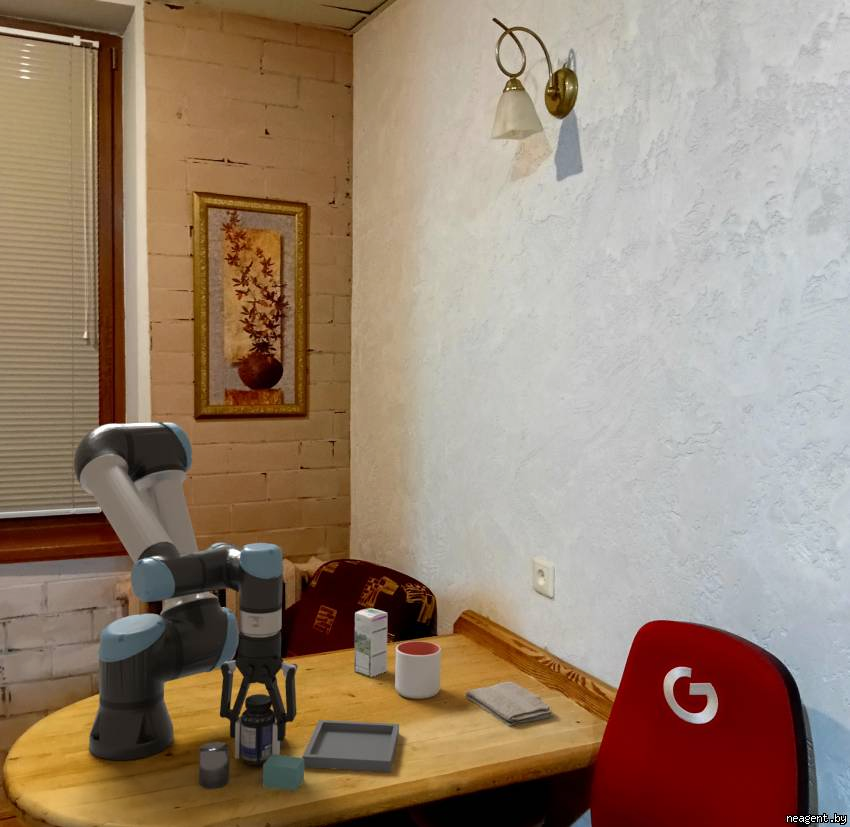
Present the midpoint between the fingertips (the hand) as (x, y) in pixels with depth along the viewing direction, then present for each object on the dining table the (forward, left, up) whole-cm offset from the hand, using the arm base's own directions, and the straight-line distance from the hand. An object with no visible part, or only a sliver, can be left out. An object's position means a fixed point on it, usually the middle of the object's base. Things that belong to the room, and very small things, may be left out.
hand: (257, 755), depth 156 cm
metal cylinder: (-6, -7, -2) cm, 9 cm away
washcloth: (+46, +32, -2) cm, 56 cm away
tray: (+16, +8, -2) cm, 18 cm away
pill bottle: (0, 0, -1) cm, 1 cm away
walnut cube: (0, +9, -2) cm, 9 cm away
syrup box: (+14, +49, -2) cm, 51 cm away
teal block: (+6, -6, -2) cm, 9 cm away
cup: (+26, +38, -2) cm, 46 cm away
